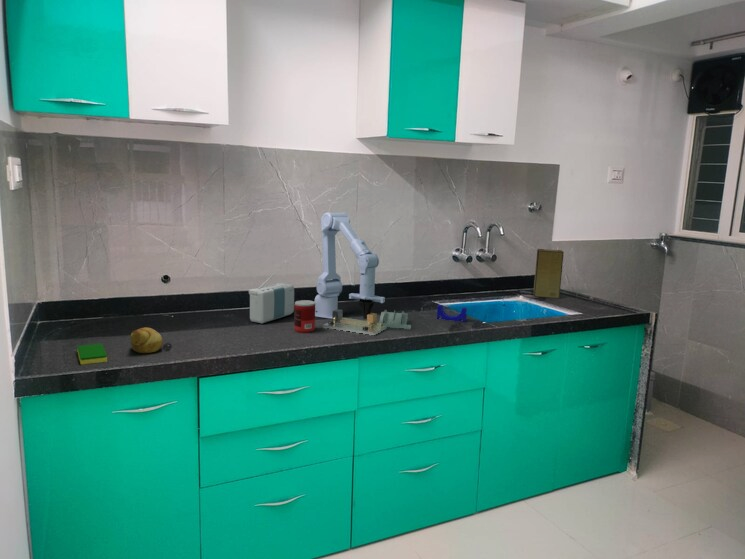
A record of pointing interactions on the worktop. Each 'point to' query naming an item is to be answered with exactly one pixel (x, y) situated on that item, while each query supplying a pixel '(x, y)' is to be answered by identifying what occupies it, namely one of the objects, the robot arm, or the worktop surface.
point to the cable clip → (456, 318)
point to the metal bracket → (394, 320)
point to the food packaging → (548, 273)
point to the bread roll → (146, 340)
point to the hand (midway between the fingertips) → (366, 318)
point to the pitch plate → (353, 324)
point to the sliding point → (371, 318)
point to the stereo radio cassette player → (271, 302)
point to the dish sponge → (91, 354)
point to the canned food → (304, 316)
